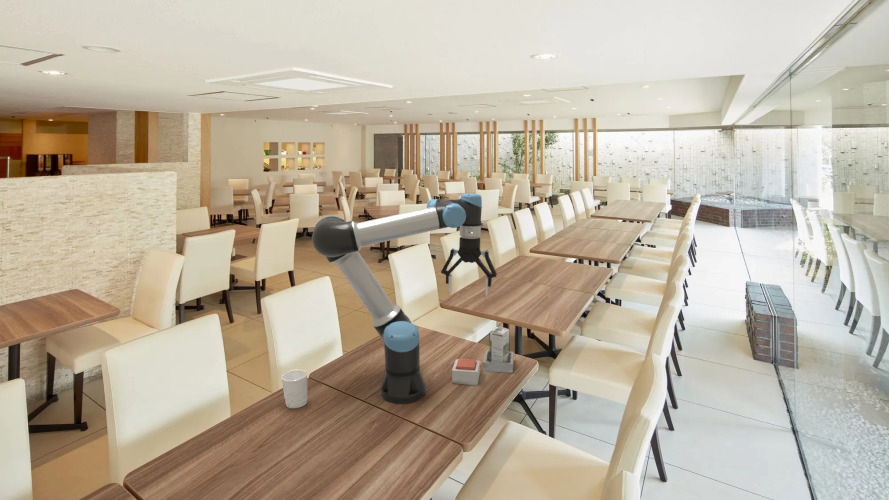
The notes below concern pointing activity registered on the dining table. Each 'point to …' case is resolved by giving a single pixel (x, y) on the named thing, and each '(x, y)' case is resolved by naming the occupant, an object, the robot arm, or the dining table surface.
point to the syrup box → (499, 345)
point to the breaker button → (466, 364)
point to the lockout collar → (498, 364)
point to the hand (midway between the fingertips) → (468, 293)
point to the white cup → (295, 388)
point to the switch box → (466, 375)
